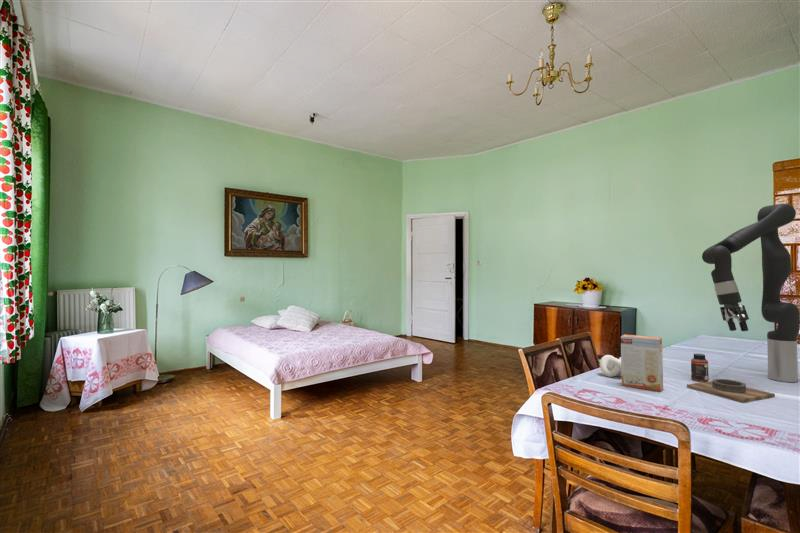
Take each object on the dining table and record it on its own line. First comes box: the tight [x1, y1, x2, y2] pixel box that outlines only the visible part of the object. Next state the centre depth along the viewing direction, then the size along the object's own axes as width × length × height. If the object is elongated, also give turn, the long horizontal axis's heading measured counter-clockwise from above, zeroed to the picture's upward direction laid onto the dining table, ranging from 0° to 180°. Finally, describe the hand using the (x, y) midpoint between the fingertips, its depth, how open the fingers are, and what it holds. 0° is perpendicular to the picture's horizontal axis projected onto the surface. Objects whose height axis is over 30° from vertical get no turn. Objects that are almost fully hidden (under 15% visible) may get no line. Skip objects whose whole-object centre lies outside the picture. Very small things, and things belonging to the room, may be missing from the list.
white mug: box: [599, 354, 622, 378], centre depth 180 cm, size 11×12×9 cm
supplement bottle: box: [690, 353, 710, 383], centre depth 172 cm, size 6×6×11 cm
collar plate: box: [686, 378, 776, 404], centre depth 156 cm, size 18×20×4 cm
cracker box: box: [620, 333, 664, 392], centre depth 164 cm, size 14×6×21 cm, turn 47°
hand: (739, 330), depth 166 cm, fingers open, 8 cm apart
